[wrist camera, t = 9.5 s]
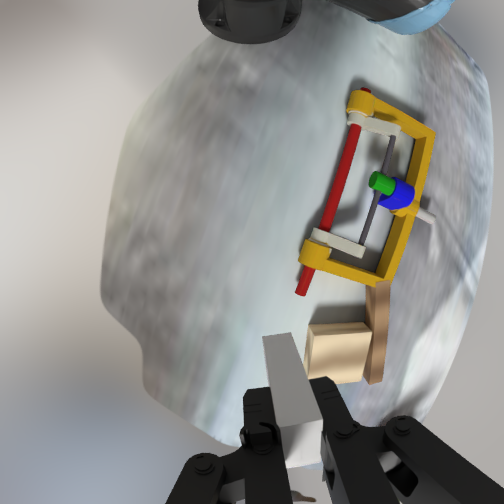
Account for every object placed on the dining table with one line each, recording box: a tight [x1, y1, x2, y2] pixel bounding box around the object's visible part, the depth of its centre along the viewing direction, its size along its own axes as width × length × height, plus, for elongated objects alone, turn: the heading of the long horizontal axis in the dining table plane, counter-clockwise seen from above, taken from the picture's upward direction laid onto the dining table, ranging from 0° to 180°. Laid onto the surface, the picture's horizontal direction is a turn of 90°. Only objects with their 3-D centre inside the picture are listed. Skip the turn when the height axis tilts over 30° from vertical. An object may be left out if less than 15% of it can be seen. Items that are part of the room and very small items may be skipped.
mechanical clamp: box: [295, 87, 436, 296], centre depth 34 cm, size 18×6×30 cm
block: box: [303, 322, 372, 384], centre depth 40 cm, size 9×9×4 cm
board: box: [362, 280, 390, 385], centre depth 40 cm, size 18×2×4 cm, turn 7°
